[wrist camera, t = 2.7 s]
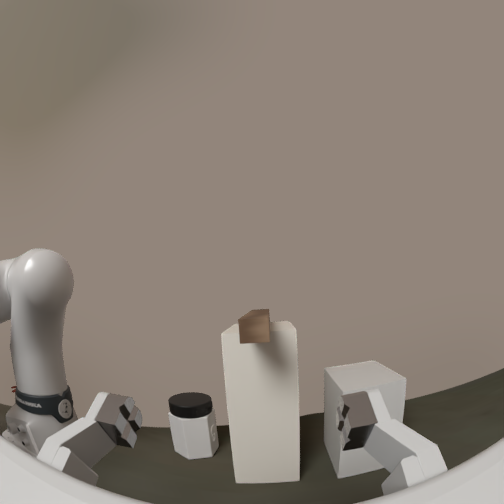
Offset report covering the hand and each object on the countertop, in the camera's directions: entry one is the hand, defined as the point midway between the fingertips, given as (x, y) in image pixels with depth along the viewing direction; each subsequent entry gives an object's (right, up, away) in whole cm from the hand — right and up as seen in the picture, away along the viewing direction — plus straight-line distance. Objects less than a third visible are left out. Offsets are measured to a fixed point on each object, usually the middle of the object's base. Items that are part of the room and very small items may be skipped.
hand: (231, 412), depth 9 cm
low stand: (+19, -30, +27) cm, 45 cm away
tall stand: (+4, -31, +29) cm, 43 cm away
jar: (-10, -33, +33) cm, 48 cm away
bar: (+2, -5, +28) cm, 29 cm away
